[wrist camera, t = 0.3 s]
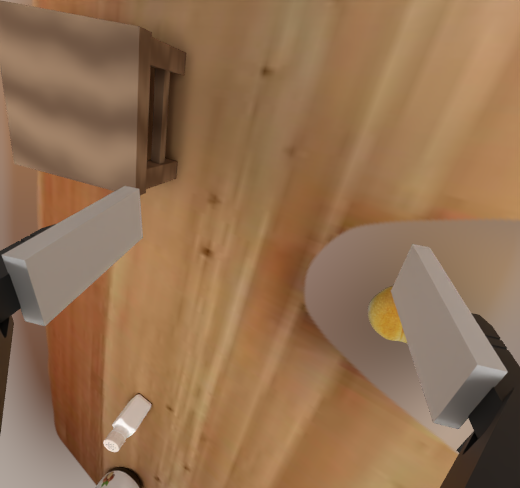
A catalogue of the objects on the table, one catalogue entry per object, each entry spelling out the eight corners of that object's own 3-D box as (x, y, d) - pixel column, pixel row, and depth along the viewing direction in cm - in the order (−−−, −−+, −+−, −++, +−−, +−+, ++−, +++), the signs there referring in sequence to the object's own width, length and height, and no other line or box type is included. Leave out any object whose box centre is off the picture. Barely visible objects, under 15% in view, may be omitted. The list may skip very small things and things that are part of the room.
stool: (72, 27, 38) (-10, -2, 29) (188, 50, 36) (139, 26, 27) (79, 155, 45) (14, 163, 36) (177, 181, 43) (135, 196, 34)
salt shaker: (144, 411, 64) (114, 456, 55) (129, 400, 63) (97, 443, 55) (153, 403, 62) (124, 449, 54) (138, 391, 62) (107, 435, 53)
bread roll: (373, 279, 42) (377, 294, 38) (443, 291, 40) (454, 307, 36) (361, 328, 45) (363, 346, 41) (426, 340, 43) (434, 360, 40)
